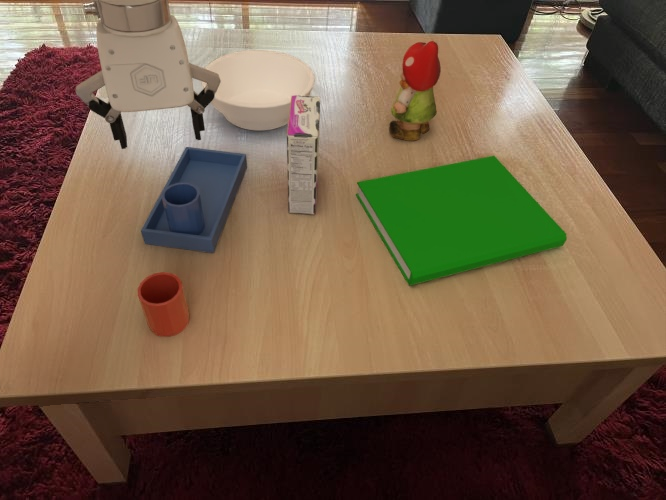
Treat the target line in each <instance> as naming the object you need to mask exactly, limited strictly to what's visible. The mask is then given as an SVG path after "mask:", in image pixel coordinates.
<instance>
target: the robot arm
mask: <svg viewBox="0 0 666 500" xmlns="http://www.w3.org/2000/svg"><path fill="white" fill-rule="evenodd" d="M82 4H83V10H84V14H85V16H87V15H92V16H94V17H95V16H97V19H99V20H98V21H97V23H96V28H95V31H96V35H95V36H96V45H97V52H98V58H99V64H100V68H101V70H100V71H98V72H97V73H95V74H93V75H91V76H89V78H87V79H85V80H84V81H82V82H80V83H79V84H77V85H76V87H75V94H76V96H77V97H78V98H79V99H80V100H81V101H82V102H83V103H84V104H85V105H87V107H88V108H89V110H90V111H91V112H93V113H95V114H96V115H98V116H100V117H101V118H103V119H104V120H105V122H106V123H108V124H109V128H110V131H111V134H112V138H113V140H114V141H119V145H120V149H121V150H126V149H127V148H128V136H127V132H126V128H125V124H124V120H123V117H122V116H123V115H122V113H136V112H146V111H157V110H166V109H167V110H168V109H176V108H182V107H186V106H187V107H188V108H190V114H191V115H190V116H191V121H192V128H193V133H194V138H195V140H196V141H202V135H201V132H205V131H206V129H205V119H204V113H205V111H206V108H207V107H208V106H210V104H211V101H212V100H213V99H214V97H215V96H214V95H215V93H216V91H217V89H218V87H219V85H220V82H221V80H220V77H219V75H218V74H217V73H215V72H212V71H209V70H207V69H205V67H204V68H203V67H201V66H199V65H195V64H193V63H190V61H189V56H188V55H189V54H188V51H187V46H186V42H185V39H184V35H183V33H182V30H181V27H180V24H179V21H178V20H177V18H176V17H175V16H174V15H173V14H171V11H170V10H171V9H170V4H169V0H89V1H83V2H82ZM193 79H194V80H198V81H200V82H201V81H203V82H205V83H207V84H206V87H205V88H203V89H201V91H200V92H199V93H197V91H195V90H194V82H193ZM103 87H105V91H106V95H107V99H108V101H107V102H105V100H102V99H101V98H100V97H98V96H96V95H95V94H94V93H95V92H96V91H98V90H100V89H101V88H103Z"/></svg>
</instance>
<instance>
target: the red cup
mask: <svg viewBox="0 0 666 500" xmlns="http://www.w3.org/2000/svg"><path fill="white" fill-rule="evenodd" d="M136 291H137V298H138V301H139V304H140V306H141V309H142V312H143V315H144V318H145V322H146V324H147V327H148V328H149V330H150V332H152V334H154V335H156V336H159V337H165V338H168V337H172V336H176V335H179V334H181V332H183V331H184V330H185V329H186V328H187V326H188V324H189V322H190V311H189V307H188V302H187V298H186V294H185V290H184V286H183V282H182V280H181V279H180V278H179V276H177V275H176V274H174V273H173V272H167V271H166V272H165V271H161V272H155V273H152V274H150V275H148V276H146V277H145V278H144V279H143V280H141V282H140V283H139V285H138V287H137V290H136Z"/></svg>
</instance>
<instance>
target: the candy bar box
mask: <svg viewBox="0 0 666 500" xmlns="http://www.w3.org/2000/svg"><path fill="white" fill-rule="evenodd" d="M320 122H321V97H320V96H310V95H309V96H299V95H295V96H292V97H291V105H290V114H289V121H288V123H287V128H286V129H287V130H286V149H287V150H286V156H287V157H286V163H287V166H286V167H287V204H288V205H287V207H288V208H287V210H288V214H293V215H311V216H312V215H313V216H314V215H316V211H317V210H316V209H317V199H318V182H319V181H318V179H319V177H318V175H319V152H320V151H319V147H320V126H321V125H320Z"/></svg>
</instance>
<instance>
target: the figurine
mask: <svg viewBox="0 0 666 500" xmlns="http://www.w3.org/2000/svg"><path fill="white" fill-rule="evenodd" d="M401 65H402V66H401V67H402V68H401V70H402V72H401V74H400V80H399V82H398V83H399V86H400V88H399V89H398V92H397V94H396V98H395V101H394V102H393V105H392V106H391V108H390V112H391V114H392V116H393V117H394V118H395V120H390V121H389V124H388V130H389V133H390V135H391V136H392V137H394V138H396V139H400V140H404V141H417V140H419V139H420V138H421V135H422V134H426V133H427V132H428V131H429V130H430V121H432V119H434V118H435V117H436V115H437V104H436V99H435V92H434V87H435V86H436V85H437V84H438V81H439V79H440V76H441V71H442V70H441V68H442V67H441V61H440V57H439V45H438V43H437V42H436V41H434V40H431V41H428V42H424V41H423V42H422V41H419V42H415V43H413V44H412V45H410V46H409V48H408V49H407V50H406V51H405V53H404V55H403V58H402V64H401ZM396 119H397V120H396Z"/></svg>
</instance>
